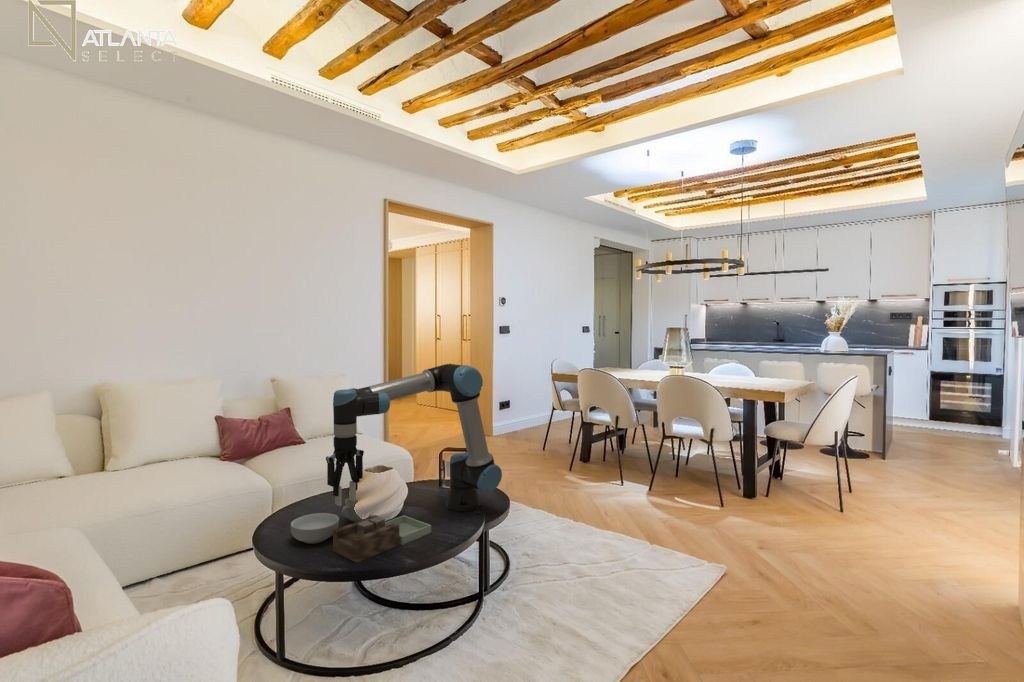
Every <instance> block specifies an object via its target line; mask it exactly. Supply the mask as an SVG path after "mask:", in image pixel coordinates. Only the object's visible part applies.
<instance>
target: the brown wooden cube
mask: <svg viewBox="0 0 1024 682" xmlns="http://www.w3.org/2000/svg"><path fill="white" fill-rule="evenodd" d="M372 531H374V523H372V522H369V521H364V522H361V523H358V524H357V535H359V536H361V535H364V534H367V533H369V532H372Z"/></svg>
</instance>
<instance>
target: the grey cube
mask: <svg viewBox="0 0 1024 682" xmlns="http://www.w3.org/2000/svg"><path fill="white" fill-rule="evenodd" d="M369 522H372V523H374V531H375V530H377V529H380V528H383V527H385V522H386V518H383V517H380V516H379V517H375V518H373V519H370V520H369Z"/></svg>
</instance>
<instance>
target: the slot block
mask: <svg viewBox="0 0 1024 682" xmlns="http://www.w3.org/2000/svg"><path fill="white" fill-rule="evenodd" d="M375 517H380V516H378V515H372V516H369V517H368V518H366V519H363V520H361V521H358V522H352V523H349V524H347V525H343V526H341V527H338V529H335V530H333V535H332V551H333V552H334V553H336V554H338V555H341V556H342V557H343V558H346V559H347V560H350V561H353V562H354V563H356V564H358V563H360V562H362V560H363V561H365V560H368V559H370V558H372V557H374V556H376V555H378V554H382V553H384V552H386V551H389V550H390V549H394V548H396V547H398V546H400V545H401V544H400V539H399V524H397V523H393V524H391V525H388V526H385V527H383V528H380V529H377V530H375V531H372V532H369V533H367V534H364V535H361V536H359V535H357V524H358V523H361V522H364V521H369V520H370V519H373V518H375ZM357 562H358V563H357Z"/></svg>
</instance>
